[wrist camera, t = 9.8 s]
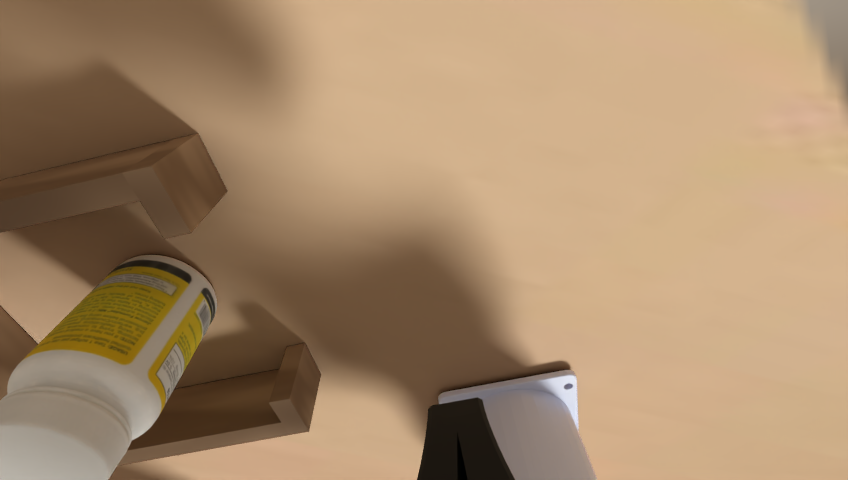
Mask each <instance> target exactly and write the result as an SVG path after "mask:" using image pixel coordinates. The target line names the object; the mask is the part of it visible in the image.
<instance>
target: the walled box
mask: <svg viewBox="0 0 848 480" xmlns="http://www.w3.org/2000/svg"><path fill="white" fill-rule="evenodd" d="M226 192H227V189H226V187H225V185H224V183H223V181H222V179H221V177H220V175H219V173H218V171H217V169H216V167H215V166H214V164H213V162H212V160H211V158H210V156H209V154H208V152H207V150H206V148H205V146H204V144H203V142H202V140H201V138H200V136H199V134H198V133H197V134H193V135H189V136H185V137H180V138H176V139H172V140H168V141H164V142H159V143H155V144H151V145H147V146H143V147H138V148H134V149H130V150H126V151H122V152H117V153H113V154H109V155H105V156H101V157H96V158H92V159H88V160H84V161H80V162H75V163H71V164H67V165H63V166H59V167H54V168H50V169H46V170H42V171H38V172H33V173H29V174H25V175H21V176H17V177H12V178H8V179H4V180H0V233H1V232H5V231H10V230H14V229H18V228H23V227H27V226H31V225H36V224H40V223H45V222H49V221H53V220H58V219H62V218H67V217H71V216H75V215H80V214H84V213H88V212H93V211H97V210H102V209H106V208H110V207H115V206H119V205H123V204H128V203H132V202H137V201H140V202H141V204H142V205H143V207H144V208H145V210H146V211H147V213H148V215H149V216H150V218H151V219H152V221H153V222H154V224H155V226H156V227H157V229H158V230H159V232H160V233H161V235H162V237H163V238H164V239H166V238H170V237H175V236H179V235H184V234H188V233H191V232H192V231H193V230H194V229H195V228H196V227H197V225H198V224H199V223H200V222H201V221H202V220H203V219H204V217H205V216H206V215H207V214H208V213H209V212H210V211H211V209H212V208H213V207H214V206H215V205H216V204H217V202H218V201H219V200H220V199H221V198H222V197H223V196H224V194H225V193H226ZM37 345H38V344H37V343H36V342H35V341H34V340H33V339H32V338H31V337H30V336H29V335H28V334H27V333H26V332H25V331H24V330H23V329H22V328H21V327H20V326H19V325H18V324H17V323H16V322H15V321H14V320H13V319H12V318H11V317H10V316H9V315H8V314H7V313H6V312H5V311H4V310H3V309H2V308H1V307H0V400H1V399H2V398H3V397H5V396H6V395H7V394H8V393H7V387H8V381H9V378H10V376H11V374H12V372H13V371H14V369H15V368H16V367H17V365H18V364H19V363H20V362H21V361H22V360H23V359H24V358H25V357H26V356H27V355H28V354H29V353H30V352H31V351H32V350H33V349H34V348H35V347H36V346H37ZM320 377H321V374H320V372H319V370H318V368H317V366H316V364H315V362H314V360H313V358H312V356H311V354H310V352H309V350H308V348H307V346H306V344H305V343H302V344H297V345H292V346H287V348H286V351H285V354H284V357H283V360H282V363H281V366H280V369H277V370H272V371H267V372H262V373H257V374H251V375H246V376H241V377H236V378H231V379H225V380H220V381H215V382H210V383H204V384H199V385H194V386H189V387H184V388H178V389H174V390H173V392H172V394H171V395H170V397H169V399H168V401H167V402H166V404H165V406H164V408H163V410H162V412H161V413H160V415H159V417H158V418H157V420H156V421H155V422H154V424H153V425H152V426H151V427H150V428H149V429H148V430H147V431H146V432H145V433H144V434H142V435H141V436H139V437H137V438H136V439H134V440H131V443H130V446H129V447H128V450H127V452H126V454H125V455H124V456H123V458H122V459H121V461H120V462H119V464H118V465H117V466H119V465H125V464H131V463H136V462H142V461H147V460H153V459H158V458H164V457H169V456H175V455H181V454H186V453H192V452H197V451H203V450H208V449H214V448H220V447H225V446H231V445H236V444H242V443H247V442H253V441H258V440H264V439H270V438H275V437H281V436H286V435H292V434H297V433H303V432H308V431H309V429H310V424H311V419H312V414H313V410H314V405H315V400H316V395H317V391H318V386H319V381H320Z"/></svg>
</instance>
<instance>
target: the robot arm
mask: <svg viewBox="0 0 848 480" xmlns="http://www.w3.org/2000/svg"><path fill="white" fill-rule="evenodd" d="M438 401H439V404H438V405H432V406H431V407H430V408H429V409H428V421H427V429H426V437H425V443H424V449H423V454H422V460H421V465H420V470H419V474H418V478H417V480H598V479H597V477H596V474H595V472H594V469H593V467H592V464H591V462H590V459H589V457H588V454H587V452H586V449H585V447H584V444H583V442H582V439H581V437H580V434H579V429H578V401H577V378H576V375H575V373H574V372H573V371H572V370H562V371H557V372H551V373H546V374H540V375H535V376H529V377H524V378H518V379H513V380H507V381H502V382H496V383H491V384H485V385H480V386H474V387H469V388H464V389H458V390H453V391H447V392H443V393H441V394H440V395H439V397H438Z"/></svg>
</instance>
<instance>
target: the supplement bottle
mask: <svg viewBox="0 0 848 480" xmlns="http://www.w3.org/2000/svg"><path fill="white" fill-rule="evenodd" d="M216 310H217V298H216V294H215V291H214V289H213V287H212V286H211V284H210V283H209V282H208V280H207V279H206V278H205V277H204V276H203V275H202V274H200V273H199V272H198V271H197V270H195V269H194V268H192V267H191V266H189V265H188V264H186V263H184V262H182V261H179V260H177V259H174V258H171V257H167V256H161V255H142V256H137V257H133V258H131V259H128V260H126V261H124V262H123V263H121V264H120V265H119V266H117V267H116V268H115V269H114V270H113V271H112V272H111V273H110V274H109V275H108V276H107V277H106V278H105V279H104V280H103V281H102V282H100V284H99V285H98V286H96V287H95V288H94V289H93V290H92V292H91V293H90V294H88V295H87V296H86V297H85V298H84V299H83V300H82V301H81V302H80V303H79V304H78V305H77V306H76V307H75V308H74V309H73V310H72V311H71V312H70V313H69V314H68V315H67V316H66V317H65V318H64V319H63V320H62V321H61V322H60V323H59V324H58V325H57V326H56V327H55V328H54V329H53V330H52V331H51V332H50V333H49V334H48V335H47V336H46V337H45V338H44V339H43V340H42V341H41V342H40V343H39V344H38V345H37V346H36V347H35V348H34V349H33V350H32V351H31V352H30V353H29V354H28V355H27V356H26V357H25V358H24V359H23V360H22V361H21V362H20V363H19V364H18V365H17V367H16V368H15V369H14V371H13V372H12V374H11V376H10V378H9V381H8V387H7V393H8V394H7V395H6V396H5V397H3V398H2V399H1V400H0V480H108V479H109V478H110V476H111V475H112V473H113V472H114V470H115V468H116V467H117V465H118V464H119V462H120V461H121V459H122V458H123V456H124V455H125V454H126V452H127V450H128V447H129V446H130V443H131V440H134V439H136V438H137V437H139V436H141V435H142V434H144V433H145V432H146V431H147V430H148V429H149V428H150V427H151V426H152V425H153V424H154V422H155V421H156V420H157V418H158V417H159V415H160V413H161V412H162V410H163V408H164V406H165V404H166V402H167V401H168V399H169V397H170V395H171V394H172V392H173V390H174V388H175V386H176V385H177V383H178V381H179V379H180V378H181V376H182V374H183V372H184V370H185V369H186V367H187V365H188V363H189V361H190V360H191V358H192V356H193V354H194V352H195V351H196V349H197V347H198V345H199V343H200V342H201V340H202V338H203V336H204V335H205V333H206V331H207V329H208V327H209V325H210V324H211V322H212V320H213V318H214V316H215V314H216Z"/></svg>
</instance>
